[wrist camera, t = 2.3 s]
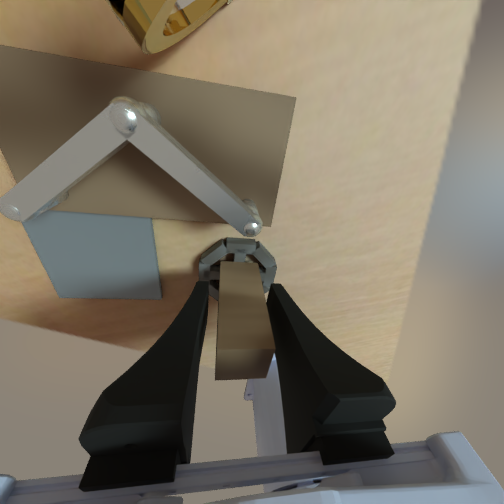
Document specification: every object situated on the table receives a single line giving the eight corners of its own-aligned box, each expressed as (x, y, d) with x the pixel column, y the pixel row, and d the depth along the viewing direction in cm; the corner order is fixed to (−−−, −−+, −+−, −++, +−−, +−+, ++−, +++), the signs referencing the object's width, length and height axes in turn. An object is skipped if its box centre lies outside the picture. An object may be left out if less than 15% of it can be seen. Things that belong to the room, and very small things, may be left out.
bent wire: (253, 211, 12) (262, 242, 9) (61, 194, 11) (-4, 225, 8) (266, 118, 10) (284, 120, 7) (19, 79, 8) (-100, 60, 5)
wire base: (267, 219, 13) (270, 226, 12) (43, 201, 11) (28, 208, 10) (290, 99, 10) (296, 97, 9) (-22, 44, 8) (-52, 35, 7)
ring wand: (266, 296, 16) (287, 390, 11) (200, 295, 16) (185, 395, 10) (279, 241, 14) (315, 327, 8) (200, 235, 13) (179, 327, 7)
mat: (162, 296, 15) (161, 299, 15) (62, 294, 14) (59, 297, 14) (151, 213, 12) (149, 216, 12) (18, 203, 11) (13, 205, 11)
